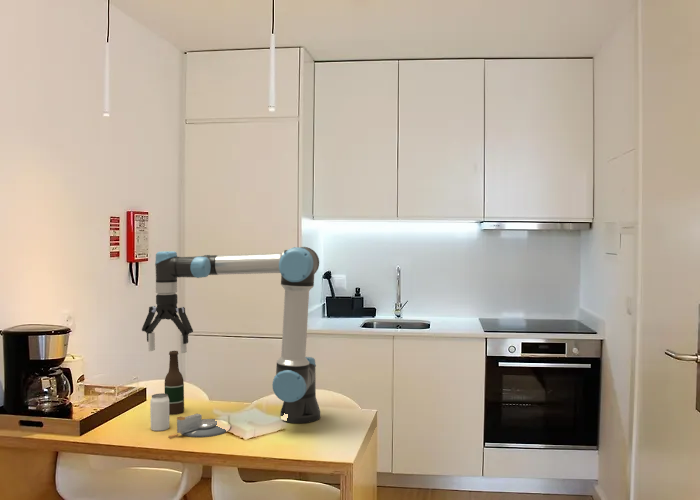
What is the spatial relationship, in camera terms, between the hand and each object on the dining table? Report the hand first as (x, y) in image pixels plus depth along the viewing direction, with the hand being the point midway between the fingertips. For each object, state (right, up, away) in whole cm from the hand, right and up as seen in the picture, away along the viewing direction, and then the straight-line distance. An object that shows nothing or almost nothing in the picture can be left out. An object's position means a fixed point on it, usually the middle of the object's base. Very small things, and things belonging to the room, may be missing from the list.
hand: (167, 351), depth 228 cm
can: (-1, -27, -4) cm, 27 cm away
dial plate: (+15, -27, -5) cm, 31 cm away
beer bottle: (-2, -27, +16) cm, 31 cm away
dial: (+13, -25, -8) cm, 30 cm away
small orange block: (+6, -27, -14) cm, 31 cm away
